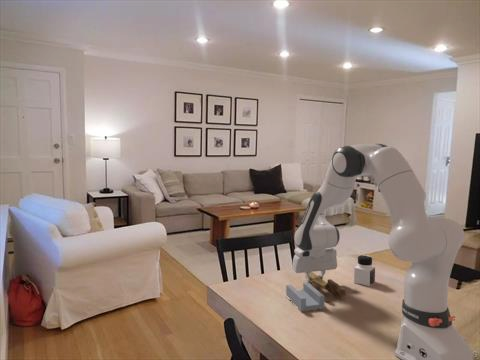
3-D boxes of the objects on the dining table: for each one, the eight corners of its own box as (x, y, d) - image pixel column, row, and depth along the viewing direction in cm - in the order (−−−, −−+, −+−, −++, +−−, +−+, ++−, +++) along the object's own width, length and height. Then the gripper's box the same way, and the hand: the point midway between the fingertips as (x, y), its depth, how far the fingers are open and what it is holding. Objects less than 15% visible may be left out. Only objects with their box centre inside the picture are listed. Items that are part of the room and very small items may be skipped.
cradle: (324, 308, 130) (324, 295, 130) (300, 312, 128) (300, 298, 127) (307, 294, 144) (307, 282, 143) (286, 296, 141) (286, 284, 141)
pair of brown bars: (346, 299, 138) (346, 289, 138) (325, 302, 136) (325, 292, 136) (330, 288, 150) (330, 279, 149) (311, 290, 148) (311, 281, 147)
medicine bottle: (370, 286, 151) (370, 259, 150) (353, 283, 156) (354, 256, 155) (375, 281, 157) (375, 255, 156) (359, 278, 161) (359, 253, 160)
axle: (328, 291, 146) (328, 281, 146) (320, 292, 145) (320, 282, 145) (313, 279, 160) (313, 270, 159) (305, 280, 159) (305, 271, 158)
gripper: (332, 246, 158) (332, 275, 160) (291, 249, 153) (290, 280, 154) (340, 249, 152) (339, 280, 154) (297, 253, 147) (296, 285, 148)
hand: (314, 280), depth 154 cm, fingers closed on axle, 4 cm apart
